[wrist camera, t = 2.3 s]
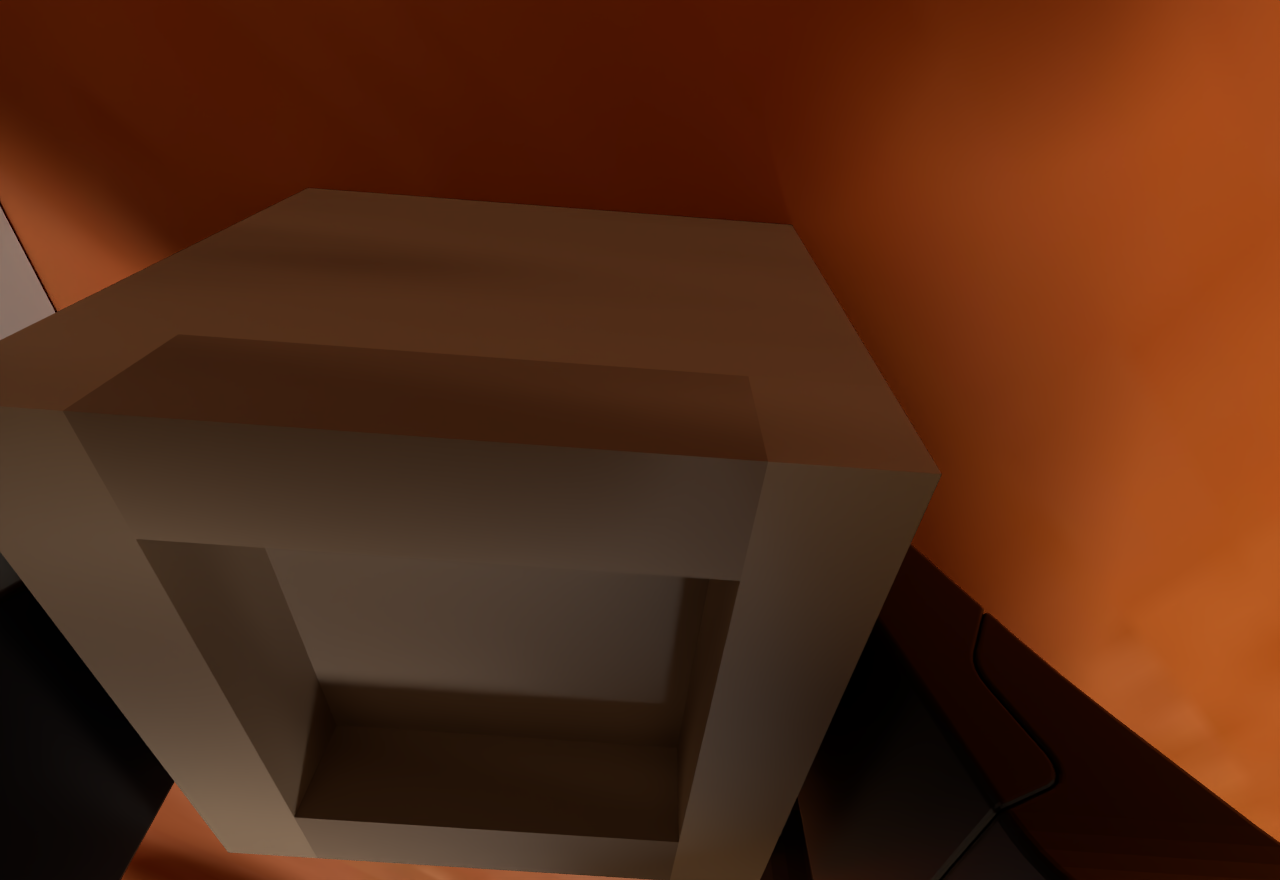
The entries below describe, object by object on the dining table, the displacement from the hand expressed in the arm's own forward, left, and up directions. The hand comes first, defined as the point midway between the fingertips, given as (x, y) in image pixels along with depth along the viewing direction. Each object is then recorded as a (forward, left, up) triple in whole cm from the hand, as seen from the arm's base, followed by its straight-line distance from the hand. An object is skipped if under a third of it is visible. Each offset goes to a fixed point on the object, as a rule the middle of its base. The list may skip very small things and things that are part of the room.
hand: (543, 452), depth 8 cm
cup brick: (0, 0, -1) cm, 1 cm away
